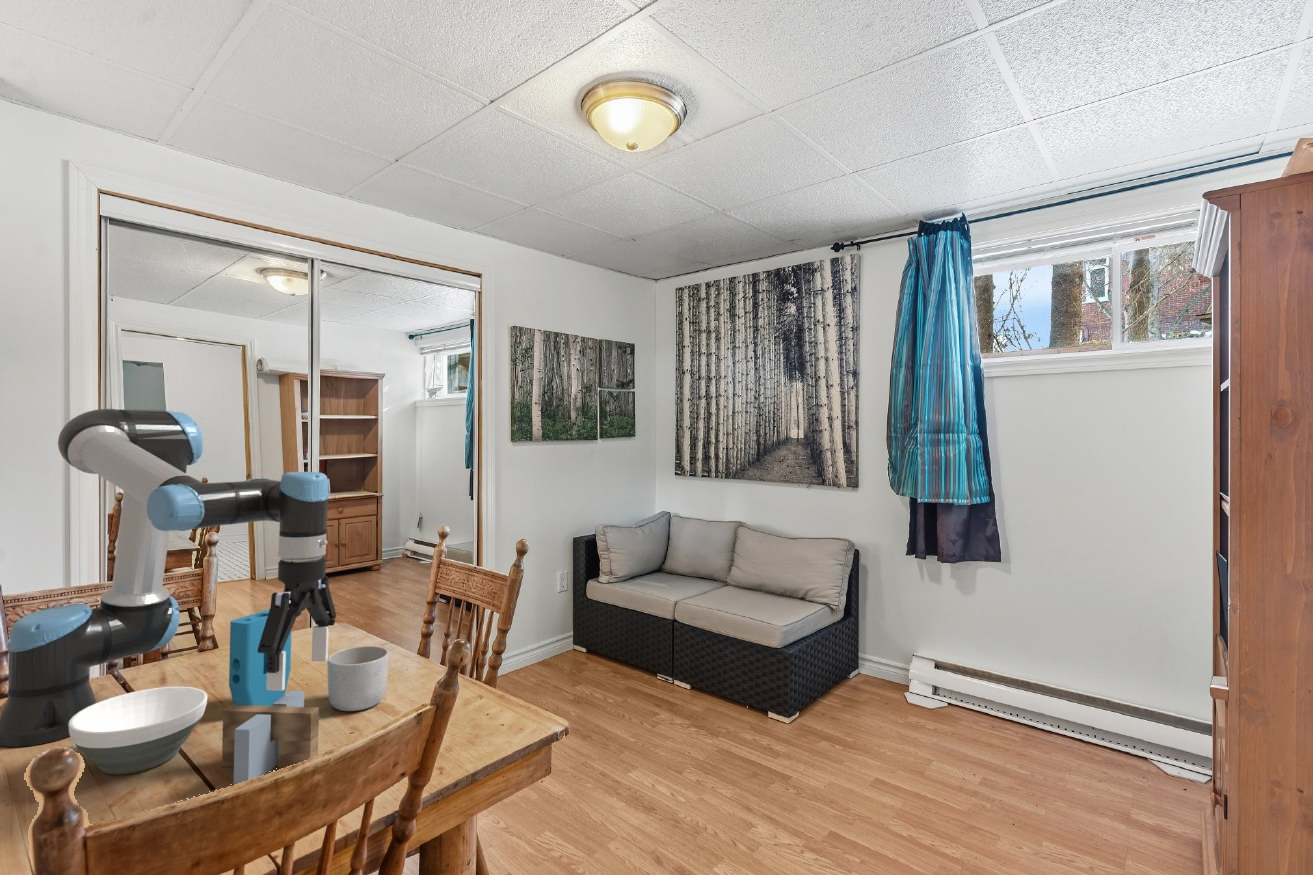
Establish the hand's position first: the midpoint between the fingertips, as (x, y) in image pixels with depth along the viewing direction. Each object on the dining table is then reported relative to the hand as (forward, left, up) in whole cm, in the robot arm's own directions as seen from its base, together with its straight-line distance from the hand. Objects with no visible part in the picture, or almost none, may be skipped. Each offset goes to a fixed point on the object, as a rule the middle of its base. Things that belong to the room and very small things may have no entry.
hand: (298, 674), depth 114 cm
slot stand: (-5, 0, -16) cm, 17 cm away
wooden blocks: (-5, 0, -16) cm, 17 cm away
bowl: (-29, 0, -17) cm, 33 cm away
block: (-22, +23, -17) cm, 36 cm away
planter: (-2, +26, -17) cm, 31 cm away
